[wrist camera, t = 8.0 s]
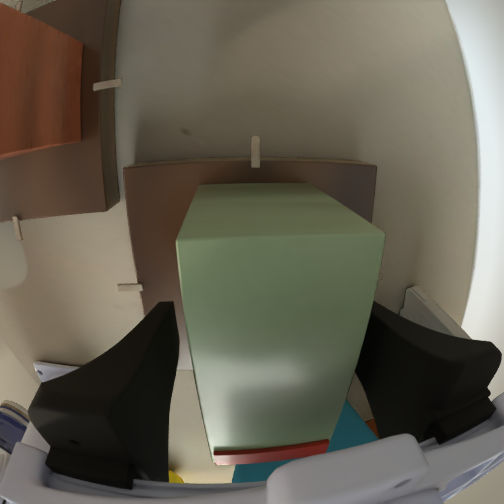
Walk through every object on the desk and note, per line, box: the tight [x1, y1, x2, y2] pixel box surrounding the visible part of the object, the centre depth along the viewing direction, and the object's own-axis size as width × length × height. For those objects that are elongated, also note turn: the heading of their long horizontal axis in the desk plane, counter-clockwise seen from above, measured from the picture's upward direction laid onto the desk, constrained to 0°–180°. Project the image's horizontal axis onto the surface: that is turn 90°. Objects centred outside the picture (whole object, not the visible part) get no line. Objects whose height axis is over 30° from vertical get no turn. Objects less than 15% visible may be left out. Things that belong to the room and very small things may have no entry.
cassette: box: [400, 286, 472, 340], centre depth 17 cm, size 12×2×8 cm, turn 10°
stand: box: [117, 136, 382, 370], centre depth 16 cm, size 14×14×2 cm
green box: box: [176, 183, 385, 465], centre depth 12 cm, size 10×5×7 cm, turn 0°
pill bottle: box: [0, 401, 30, 455], centre depth 17 cm, size 5×5×10 cm
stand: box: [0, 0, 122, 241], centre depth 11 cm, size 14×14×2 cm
